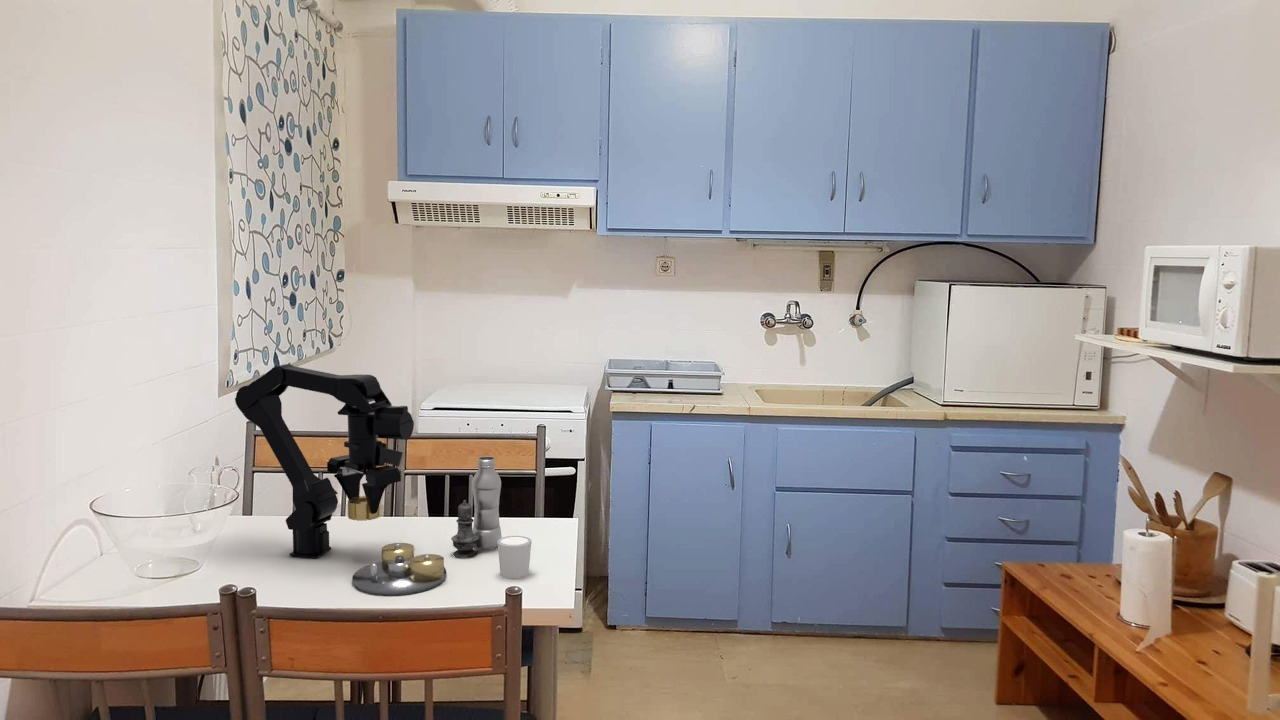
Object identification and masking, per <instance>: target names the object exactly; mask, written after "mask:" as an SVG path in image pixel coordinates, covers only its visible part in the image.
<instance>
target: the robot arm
mask: <svg viewBox="0 0 1280 720" xmlns="http://www.w3.org/2000/svg"><path fill="white" fill-rule="evenodd" d="M288 387H291V388H296V389H297V388H298V389H302V390H306V391H312V392H314V393H315V392H316V393H321V394H326V395H328V396H329V395H330V396H332V397H333V398H335V399H336V400H337V401H338V402H341V403H343V404H344V405H343V406H342V408H340V409H339V410H338V411H337V415H338V416H347V435H348V436H347V438H348V439H347V441H343V442H344V443H343V446H344V448H348V454H346V455H339V456H335V457H330V458H329V460H328V461H327V462H326V468H327V470H326V471H327V472H328V473H331V474H333V476H334V479H336V480H337V482H338V483H339V485H340V487H341V489H343V492H344V493H345V495H346V497H347V499H348V500H349V499H352V498H353V497H358V496H360V491H361V490H360V489H361V488H360V487H361V486H362V488H363V492H364V496H366V499H367V503H368V506H369V509H370V511H371V514H375V513H377V510H378V507H379V504H380V501H381V502H382V498H383V494H384V492H385V490H386V488H387V487H388V486H390V485H393V484H395V483H400V482H402V471H401V470H400V469H399V468H398V467H400V464H401V461H402V457H403V454H404V453H403V451H401V450H400V451H399V450H396V449H392V448H387V447H388V446H387V443H385V442H382V440H379V439H389V440H391V439H392V440H400V441H401V440H404V441H405V440H406V441H407V440H409V439H410V438H411V436H412V434H413V431H414V426H415V421H414V420H413V417H412V414H411V413H410V412H409V406H407V405H400V406H399V405H398V406H395V405H392V403H391V401H390V400H389V398H388V397H387V395H386V394H385V392H384V391H383V389H382V387H381V385H380V382H379V381H378V379H377V376H374V375H372V374H343V375H342V374H340V375H339V374H335V373H331V372H324V371H320V370H314V369H310V368H306V367H305V368H304V367H299V366H296V365H295V366H294V365H293V364H290V363H286V364H280V365H275V366H273V367H272V368H271V369H270V370H268V371H267V372H266V373H265V374H263V375H262V376H260V377H258V378H257V379H255V380H253V381H252V382H251V383H249V384H247V385H243V386H241V387H240V388H238V390H237V392H236V396H235V398H234V401H235V405H236V407H237V408H238V410H239V411H240V412H241V413H242V415H243V416H244V417H245V418H246V419H247V420H248V421H249V422H251V423H252V424H254V425H255V426H257V427H258V428H259V429H260V432H261V433H262V435H263V437H264V438H265V440H266V442H267V444H268V446H269V447H270V449H271V451H272V452H273V454H274V455H275V457H276V460H277V461H278V464H279V465H280V467H281V468H282V471H283V472H284V474H285V476H286V478H287V479H288V482H290V485H291V488H292V503H293V505H294V508H295V509H294V510H293V512H291V514H290V515H289V516H287V518H286V519H285V523H286V526H287V529H288V530H291V531H292V549H293V550H292V551H291V552H289V553H288V556H289V557H298V558H311V559H317V558H319V557H321V556H322V555H324V554H325V553H327V552H329V551H330V550H332V546H330V531H329V530H328V523H326V522H330V520H332V517H333V514H334V512H336V510H337V508H338V504H339V499H338V496H337V495H338V492H337V490H335V488H334V487H333V486H332V482H331V480H330V478H328V477H324V478H323V479H321V478H319V477H318V476H316V474H315V473H314V472H313V470H312V468H311V466H310V464H309V463H308V461H307V459H306V458H305V456H304V454H303V452H302V450H301V449H300V447H299V445H298V443H297V442H296V440H295V438H294V436H293V434H292V432H291V431H290V429H289V427H288V426H287V424H286V421H285V420H284V419H283V415H282V413H283V412H282V409H283V407H282V400H281V397H280V396H281V395H282V394H283V393H285V392H286V391H287V389H288ZM378 438H379V439H378ZM386 464H387V465H386ZM391 465H394V466H391ZM364 476H365V481H366V482H363V483H361V481H362V479H363V477H364Z"/></svg>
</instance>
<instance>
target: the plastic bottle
mask: <svg viewBox="0 0 1280 720" xmlns="http://www.w3.org/2000/svg"><path fill="white" fill-rule="evenodd" d="M495 459H496V458H495V457H493V456H489V455H488V456H487V455H486V456H480V457H478V458H477V468H478V470H477V471H476V472H475V474H474V476H473V478H472V480H471V489H472V495H473V506H474V513H473V515H474V516H473V520H474V521H473V526H472V530H473V534H475V535H478V536H479V539H478V543H477V545H476V547H475V548H476V549H478V550H491V549H492V550H493V549H496V548H498V542H497V541H498V540H499V539H500V538H503V537H502V529H501V525H500V512H499V511H500V510H499V509H500V507H499V506H500V496H501V489H502V480H501V477H500V476H499V473H498V472H497V471H496V470H495V467H496V461H495Z"/></svg>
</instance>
